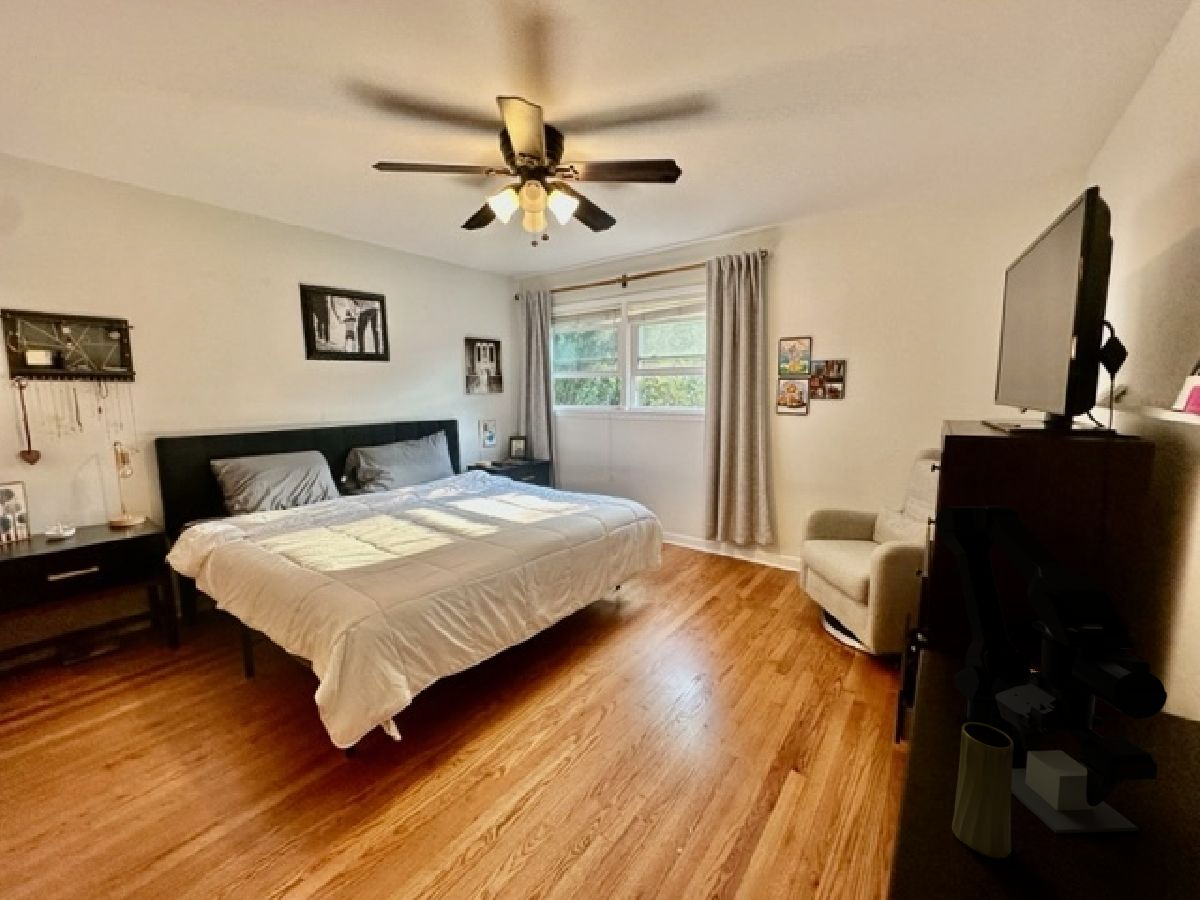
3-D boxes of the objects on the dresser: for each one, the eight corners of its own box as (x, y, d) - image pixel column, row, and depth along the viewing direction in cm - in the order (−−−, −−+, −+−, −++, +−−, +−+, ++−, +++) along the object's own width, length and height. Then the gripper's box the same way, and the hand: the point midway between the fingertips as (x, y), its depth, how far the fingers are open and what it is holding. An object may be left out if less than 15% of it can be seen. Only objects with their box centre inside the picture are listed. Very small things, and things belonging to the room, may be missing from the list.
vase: (953, 812, 69) (959, 714, 68) (1011, 836, 65) (1018, 732, 64) (949, 842, 64) (955, 737, 63) (1011, 870, 60) (1019, 758, 59)
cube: (1025, 783, 74) (1027, 751, 73) (1058, 782, 74) (1061, 750, 73) (1057, 810, 69) (1059, 776, 68) (1092, 809, 69) (1095, 775, 68)
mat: (988, 772, 77) (988, 769, 76) (1058, 770, 77) (1058, 767, 77) (1056, 833, 66) (1056, 829, 66) (1137, 830, 66) (1137, 827, 66)
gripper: (960, 643, 79) (955, 737, 80) (1076, 716, 60) (1067, 837, 61) (1029, 641, 79) (1023, 735, 80) (1166, 714, 60) (1155, 834, 62)
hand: (1059, 779), depth 71 cm, fingers open, 9 cm apart
